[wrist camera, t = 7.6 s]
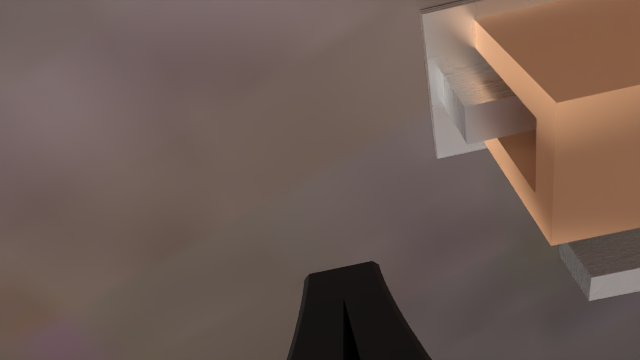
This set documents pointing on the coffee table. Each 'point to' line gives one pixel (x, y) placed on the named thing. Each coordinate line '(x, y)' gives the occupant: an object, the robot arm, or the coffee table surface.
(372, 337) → the robot arm
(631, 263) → the wooden toy block
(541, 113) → the clip
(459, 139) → the rail
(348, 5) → the coffee table surface
